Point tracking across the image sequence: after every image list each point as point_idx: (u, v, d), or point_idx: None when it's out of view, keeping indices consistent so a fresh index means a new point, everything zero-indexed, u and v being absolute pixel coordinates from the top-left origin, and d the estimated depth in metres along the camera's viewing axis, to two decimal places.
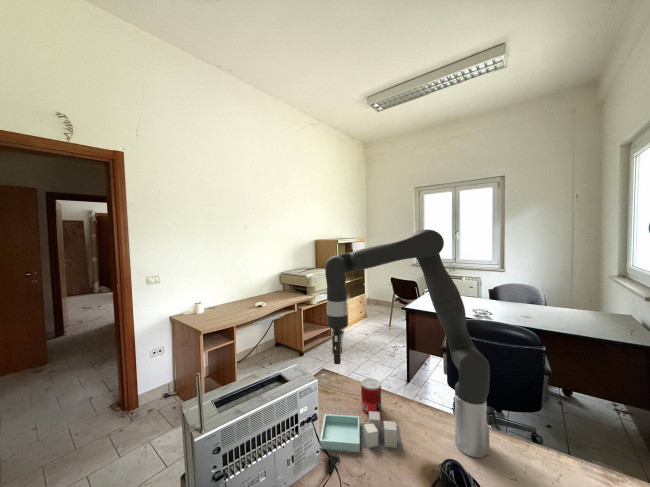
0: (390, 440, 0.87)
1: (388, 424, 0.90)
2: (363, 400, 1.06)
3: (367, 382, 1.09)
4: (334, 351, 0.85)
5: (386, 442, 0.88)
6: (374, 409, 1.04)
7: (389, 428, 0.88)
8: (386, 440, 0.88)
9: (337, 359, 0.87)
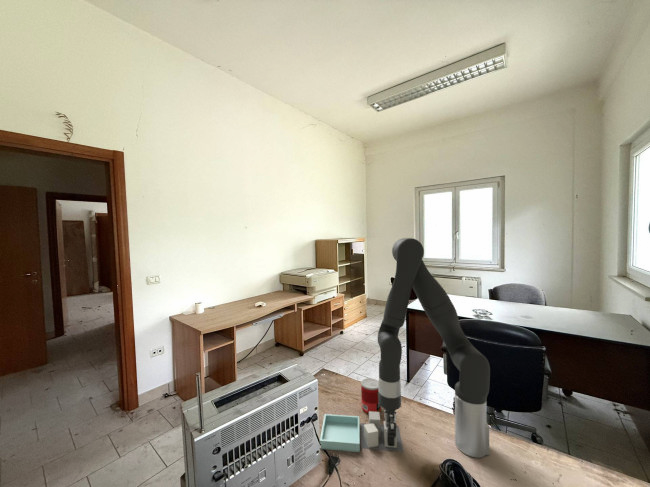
0: None
1: None
2: (363, 400, 1.06)
3: (367, 382, 1.08)
4: (390, 436, 0.84)
5: (386, 442, 0.88)
6: (374, 409, 1.04)
7: None
8: (386, 440, 0.88)
9: (391, 441, 0.86)
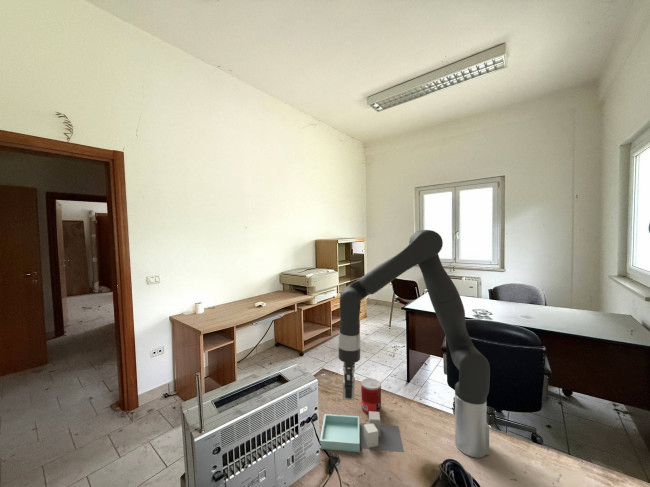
0: None
1: None
2: (363, 400, 1.06)
3: (367, 382, 1.08)
4: (346, 387, 0.86)
5: (344, 395, 0.90)
6: (374, 409, 1.04)
7: None
8: (344, 393, 0.89)
9: (348, 394, 0.88)
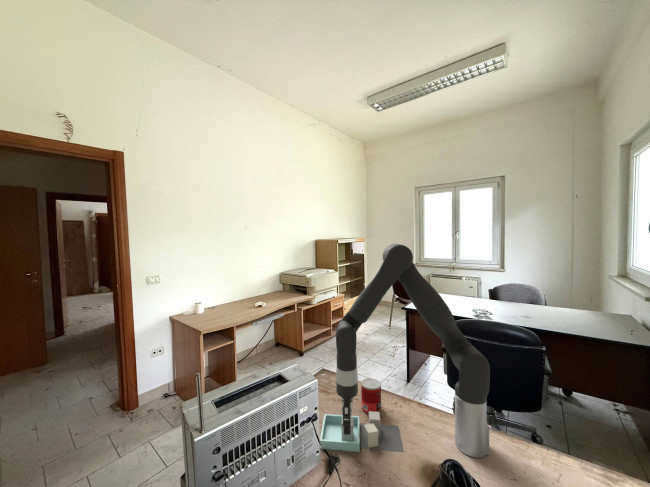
0: (347, 435, 0.90)
1: (346, 419, 0.92)
2: (363, 400, 1.06)
3: (367, 382, 1.09)
4: (344, 423, 0.85)
5: (343, 437, 0.90)
6: (374, 409, 1.04)
7: None
8: (343, 435, 0.90)
9: (347, 430, 0.86)
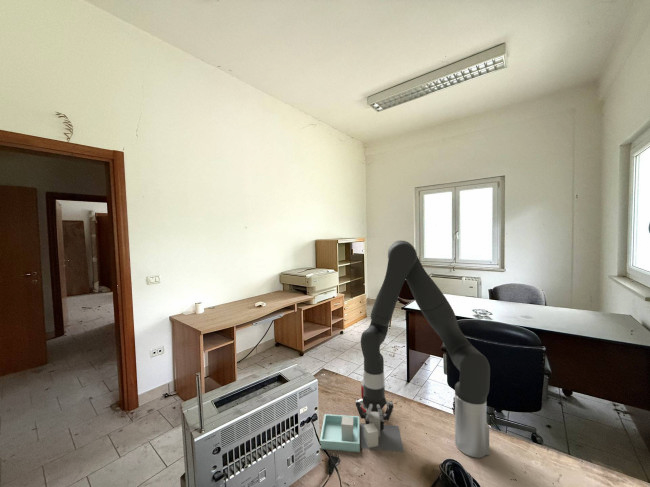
0: (347, 435, 0.90)
1: (346, 419, 0.92)
2: None
3: None
4: None
5: (343, 437, 0.90)
6: None
7: (346, 423, 0.90)
8: (343, 435, 0.90)
9: None
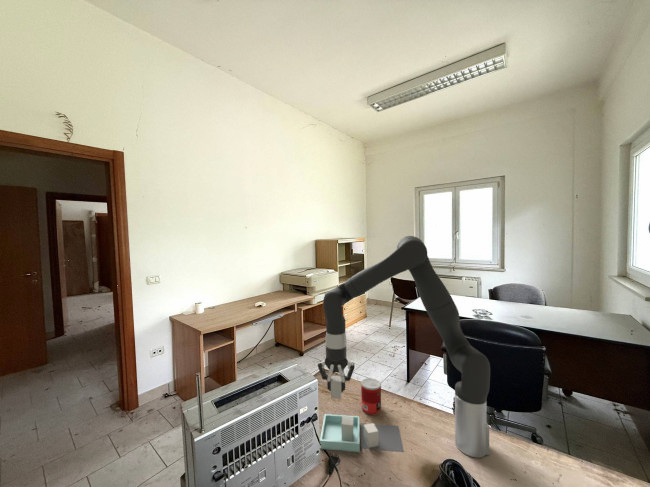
0: (347, 435, 0.90)
1: (346, 419, 0.92)
2: (363, 400, 1.06)
3: (367, 382, 1.08)
4: None
5: (343, 437, 0.90)
6: (374, 409, 1.04)
7: (346, 423, 0.90)
8: (343, 435, 0.90)
9: None
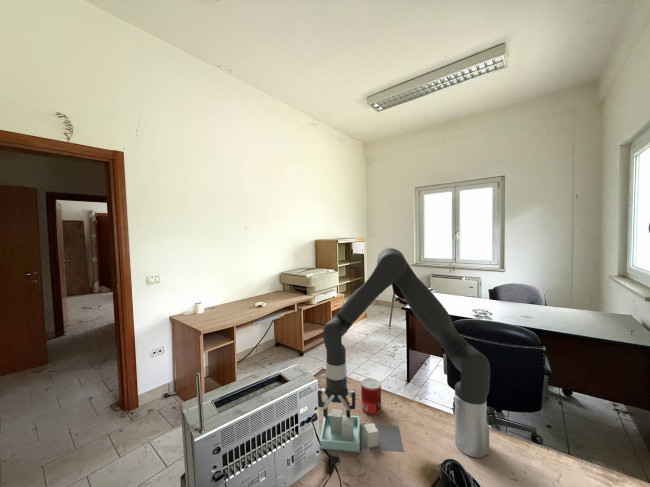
0: (347, 435, 0.90)
1: (346, 419, 0.92)
2: (363, 400, 1.06)
3: (367, 382, 1.09)
4: None
5: (343, 437, 0.90)
6: (374, 409, 1.04)
7: (346, 423, 0.90)
8: (343, 435, 0.90)
9: None
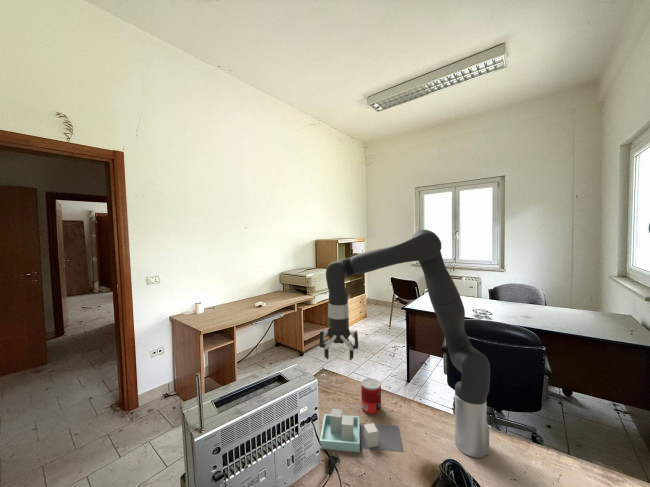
0: (347, 435, 0.90)
1: (346, 419, 0.92)
2: (363, 400, 1.06)
3: (367, 382, 1.08)
4: None
5: (343, 437, 0.90)
6: (374, 409, 1.04)
7: (346, 423, 0.90)
8: (343, 435, 0.90)
9: None
